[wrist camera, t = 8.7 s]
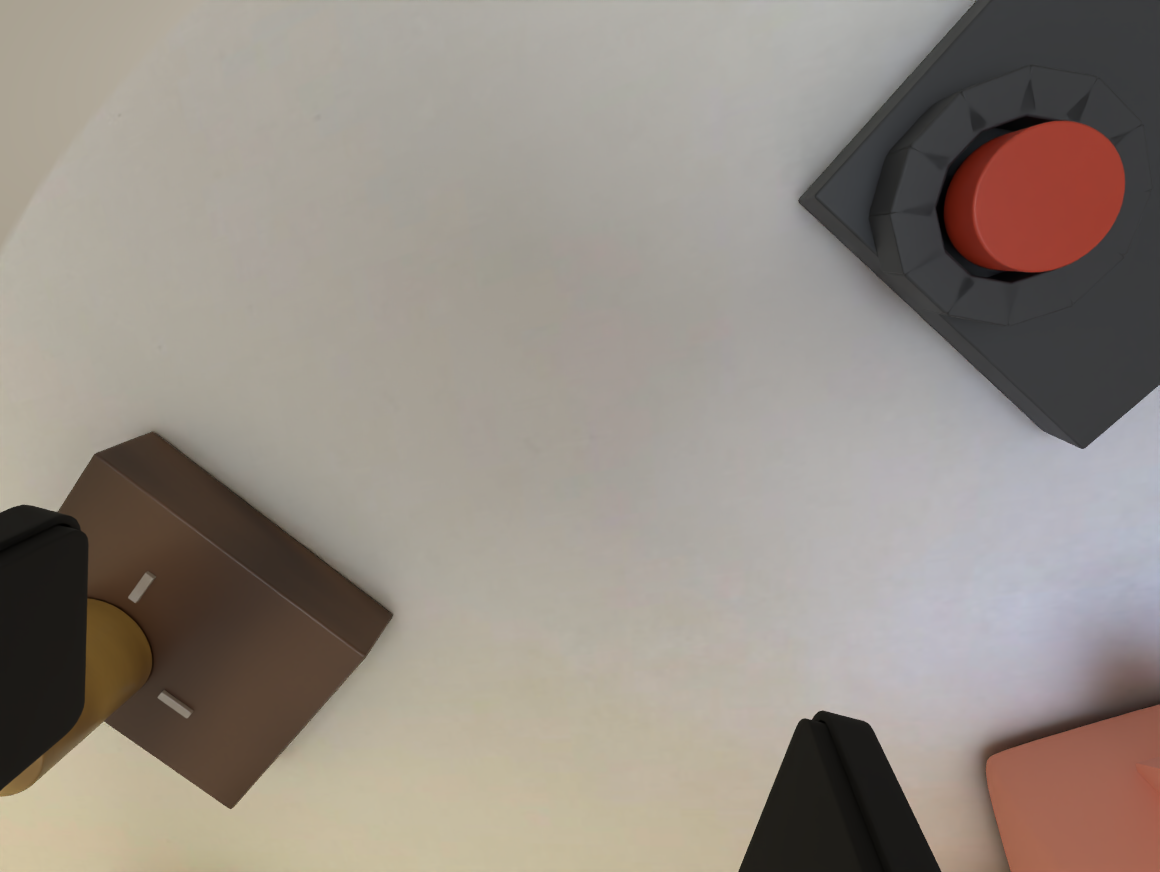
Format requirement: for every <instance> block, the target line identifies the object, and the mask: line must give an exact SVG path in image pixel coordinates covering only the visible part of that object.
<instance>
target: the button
mask: <svg viewBox="0 0 1160 872" xmlns="http://www.w3.org/2000/svg"><path fill="white" fill-rule="evenodd" d="M1124 192H1125V173H1124V168H1123V164H1122V161H1121V158H1120V156H1119V153H1118V152H1117V150H1116V148H1115V147H1114V145H1113V144H1112V143H1111V142H1110V141H1109V139H1108V138H1106V137H1105V136H1104V135H1103V134H1102V133H1100V132H1099V131H1097V130H1096V129H1094V128H1092V127H1090V126H1087V125H1085V124H1082V123H1078V122H1073V121H1051V122H1045V123H1041V124H1038V125H1034V126H1031V127H1028V128H1025V129H1021V130H1018V131H1015V132H1011V133H1008V134H1005V135H1001V136H999V137H996V138H994V139H992V140H990V141H988V142H986V143H985V144H983V145H981V146H980V147H979V148H977V149H976V150H975V151H974V152H973V153H971V154H970V155H969V156H968V157H967V158H966V159H965V161H964V162H963V163H962V164H961V165H960V167H959V168H958V170H957V171H956V173H955V174H954V176H953V178H952V180H951V182H950V185H949V187H948V190H947V194H946V198H945V203H944V222H945V227H946V231H947V234H948V236H949V239H950V241H951V243H952V244H953V246H954V247H955V249H956V250H957V251H958V252H959V253H960V254H961V255H962V256H963V257H964V258H965V259H967V260H968V261H970V262H972V263H973V264H975V265H978V266H980V267H983V268H987V269H992V270H1002V271H1016V272H1046V271H1051V270H1055V269H1059V268H1061V267H1064V266H1067V265H1069V264H1071V263H1073V262H1075V261H1077V260H1078V259H1080V258H1081V257H1083V256H1084V255H1086V254H1087V253H1088V252H1090V251H1091V250H1092V249H1093V248H1094V247H1096V246H1097V245H1098V244H1099V242H1100V241H1101V240H1102V239H1103V238H1104V237H1105V236H1106V234H1107V233H1108V232H1109V230H1110V229H1111V227H1112V226H1113V224H1114V222H1115V220H1116V218H1117V216H1118V214H1119V212H1120V209H1121V206H1122V202H1123V198H1124Z"/></svg>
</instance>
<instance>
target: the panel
mask: <svg viewBox="0 0 1160 872" xmlns="http://www.w3.org/2000/svg"><path fill="white" fill-rule="evenodd" d="M58 513H62V514H66V515H69V516H72V517H73V518H75V519H77V521H78V523H79V525H80V528H81V531H82V532H84V533H85V534H86V535H87V537H88V543H89V552H88V593H87V599H95V600H100V601H103V602H106V603H108V604H111V605H113V606H115V607H117V608H119V609H120V610H122V611H123V612H125V613H126V614H127V615H128V616H130V617H131V618H132V619H133V620H134V621H135V622H136V623H137V624H138V626H139V627H140V628H141V630H142V631H143V633H144V634H145V636H146V638H147V640H148V642H149V645H150V648H151V653H152V668H151V672H150V675H149V677H148V679H147V681H146V683H145V684H144V685H143V686H142V687H141V688H140V689H139V690H138V691H137V692H136V693H135V694H134V695H133V696H132V697H130V698H129V699H128V700H127V701H126V702H125V703H124V704H123V705H121V706H120V707H119V708H118V709H117V710H116V711H115V712H114V713H112V714H111V715H110V716H109V717H108V718H107V719H106V720H105V721H104V722H106V723H107V724H109V725H110V726H111V727H113V728H114V729H116V730H117V731H119V732H120V733H121V734H123V735H124V736H126V737H127V738H129V739H130V740H132V741H133V742H134V743H136V744H137V745H139V746H140V747H142V748H143V749H144V750H146V751H147V752H149V753H150V754H152V755H153V756H154V757H156V758H157V759H159V760H160V761H162V762H163V763H165V764H166V765H167V766H169V767H170V768H172V769H173V770H175V771H176V772H177V773H179V774H180V775H182V776H183V777H185V778H186V779H187V780H189V781H190V782H192V783H193V784H195V785H196V786H198V787H199V788H200V789H202V790H203V791H205V792H206V793H208V794H209V795H210V796H212V797H213V798H215V799H216V800H218V801H219V802H220V803H222V804H223V805H225V806H226V807H228V808H229V809H232V808H233V807H234V806H235V805H236V804H237V803H238V802H239V800H240V799H241V798H242V797H243V796H244V795H245V794H246V793H247V791H248V790H249V789H250V788H251V787H252V786H253V785H254V783H255V782H256V781H257V780H258V779H259V778H260V777H261V776H262V774H263V773H264V772H265V771H266V770H267V769H268V768H269V766H270V765H271V764H272V763H273V762H274V761H275V760H276V759H277V757H278V756H279V755H280V754H281V753H282V752H283V751H284V749H285V748H286V747H287V746H288V745H289V744H290V743H291V741H292V740H293V739H294V738H295V737H296V736H297V735H298V734H299V732H300V731H301V730H302V729H303V728H304V727H305V726H306V724H307V723H308V722H309V721H310V720H311V719H312V718H313V717H314V715H315V714H316V713H317V712H318V711H319V710H320V709H321V707H322V706H323V705H324V704H325V703H326V702H327V701H328V700H329V698H330V697H331V696H332V695H333V694H334V693H335V692H336V690H337V689H338V688H339V687H340V686H341V685H342V684H343V683H344V681H345V680H346V679H347V678H348V677H349V676H350V675H351V673H352V672H353V671H354V670H355V669H356V668H357V667H358V666H359V664H360V663H361V662H362V661H363V660H364V659H365V658H366V656H367V655H368V653H369V652H370V650H371V649H372V647H373V646H374V644H375V643H376V641H377V640H378V638H379V637H380V635H381V634H382V632H383V630H384V629H385V627H386V626H387V624H388V623H389V621H390V620H391V618H392V616H393V615H392V614H391V613H390V612H389V611H387V610H386V609H385V608H383V607H382V606H381V605H380V604H378V603H377V602H376V601H374V600H373V599H372V598H370V597H369V596H368V595H366V594H365V593H364V592H363V591H361V590H360V589H359V588H357V587H356V586H355V585H353V584H352V583H351V582H349V581H348V580H347V579H346V578H344V577H343V576H342V575H340V574H339V573H338V572H336V571H335V570H334V569H332V568H331V567H330V566H328V565H327V564H326V563H325V562H323V561H322V560H321V559H319V558H318V557H317V556H315V555H314V554H313V553H311V552H310V551H309V550H308V549H306V548H305V547H304V546H302V545H301V544H300V543H298V542H297V541H296V540H294V539H293V538H292V537H291V536H289V535H288V534H287V533H285V532H284V531H283V530H281V529H280V528H279V527H277V526H276V525H275V524H274V523H272V522H271V521H270V520H268V519H267V518H266V517H264V516H263V515H262V514H260V513H259V512H258V511H257V510H255V509H254V508H253V507H251V506H250V505H249V504H247V503H246V502H245V501H243V500H242V499H241V498H240V497H238V496H237V495H236V494H234V493H233V492H232V491H230V490H229V489H228V488H226V487H225V486H224V485H222V484H221V483H220V482H219V481H217V480H216V479H215V478H213V477H212V476H211V475H209V474H208V473H207V472H205V471H204V470H203V469H202V468H200V467H199V466H198V465H196V464H195V463H194V462H192V461H191V460H190V459H188V458H187V457H186V456H185V455H183V454H182V453H181V452H179V451H178V450H177V449H175V448H174V447H173V446H171V445H170V444H169V443H168V442H166V441H165V440H164V439H162V438H161V437H160V436H158V435H157V434H156V433H154V432H150V433H147V434H145V435H142V436H139V437H137V438H134V439H132V440H129V441H126V442H124V443H121V444H119V445H116V446H113V447H111V448H108V449H106V450H103V451H100V452H98V453H96V454H94V456H93V457H92V459H91V460H90V462H89V464H88V465H87V467H86V468H85V470H84V471H83V473H82V475H81V476H80V478H79V479H78V481H77V483H76V484H75V486H74V487H73V489H72V490H71V492H70V494H69V495H68V497H67V498H66V500H65V501H64V503H63V505H62V506H61V508H60V509H59V511H58Z"/></svg>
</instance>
